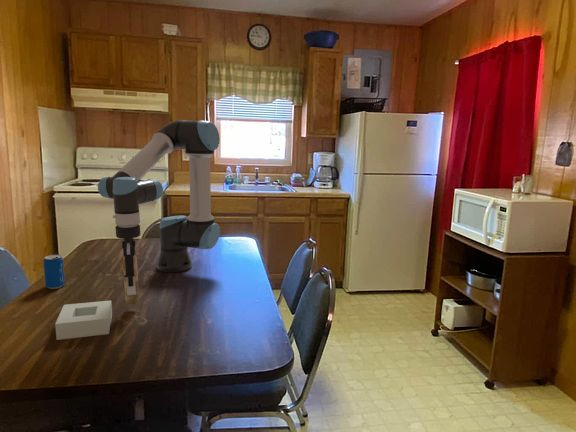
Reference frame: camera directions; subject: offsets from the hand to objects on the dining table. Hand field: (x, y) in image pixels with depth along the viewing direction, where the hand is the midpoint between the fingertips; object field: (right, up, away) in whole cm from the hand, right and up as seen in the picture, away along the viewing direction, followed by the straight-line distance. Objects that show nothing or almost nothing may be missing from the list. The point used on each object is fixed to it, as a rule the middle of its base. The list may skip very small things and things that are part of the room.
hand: (131, 291), depth 141 cm
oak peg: (0, -4, +1) cm, 4 cm away
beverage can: (-37, -2, +19) cm, 42 cm away
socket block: (-10, -9, -12) cm, 18 cm away
